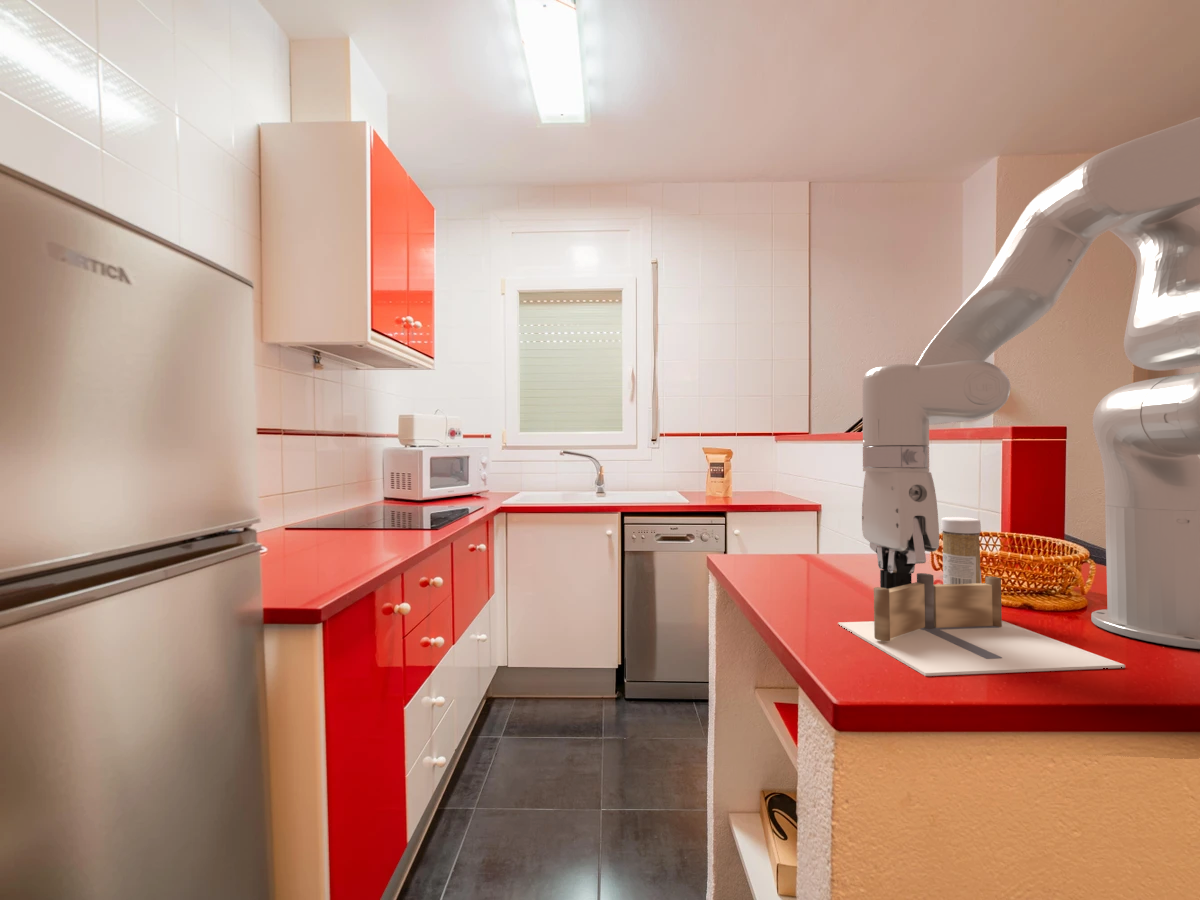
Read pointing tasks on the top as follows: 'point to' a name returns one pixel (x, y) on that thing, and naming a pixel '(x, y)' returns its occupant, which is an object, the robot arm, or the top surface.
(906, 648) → the board
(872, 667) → the top surface
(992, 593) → the fixed fence
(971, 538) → the sprinkles bottle
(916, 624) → the fence panel
